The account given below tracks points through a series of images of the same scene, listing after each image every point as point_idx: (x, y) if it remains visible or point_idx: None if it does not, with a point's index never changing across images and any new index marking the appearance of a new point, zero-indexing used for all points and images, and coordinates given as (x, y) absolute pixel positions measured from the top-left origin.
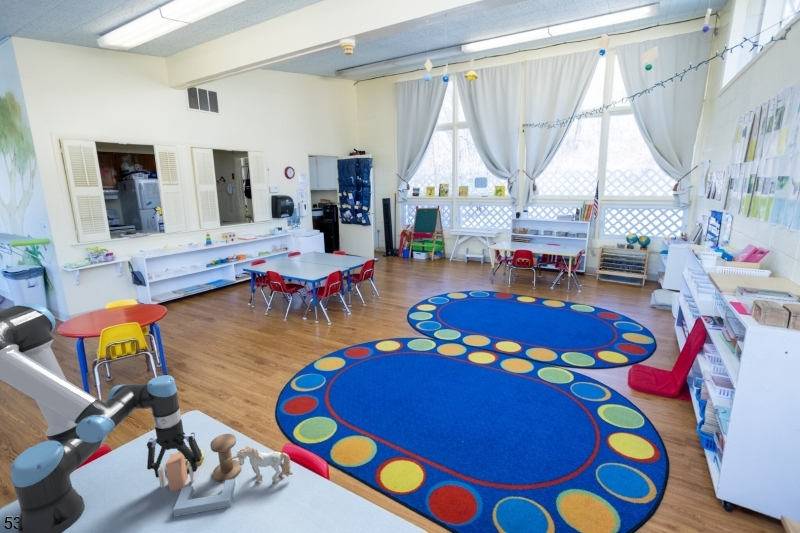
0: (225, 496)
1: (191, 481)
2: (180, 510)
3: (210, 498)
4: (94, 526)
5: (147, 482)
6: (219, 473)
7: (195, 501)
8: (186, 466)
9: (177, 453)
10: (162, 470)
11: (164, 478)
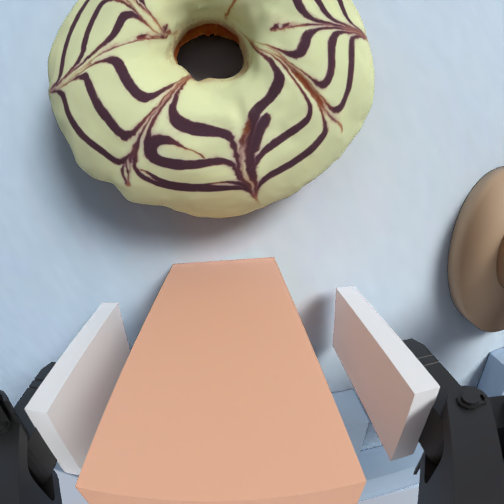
0: None
1: (337, 349)
2: None
3: None
4: None
5: (4, 261)
6: (490, 289)
7: (388, 483)
8: (255, 202)
9: (224, 501)
10: (80, 410)
11: (110, 341)
